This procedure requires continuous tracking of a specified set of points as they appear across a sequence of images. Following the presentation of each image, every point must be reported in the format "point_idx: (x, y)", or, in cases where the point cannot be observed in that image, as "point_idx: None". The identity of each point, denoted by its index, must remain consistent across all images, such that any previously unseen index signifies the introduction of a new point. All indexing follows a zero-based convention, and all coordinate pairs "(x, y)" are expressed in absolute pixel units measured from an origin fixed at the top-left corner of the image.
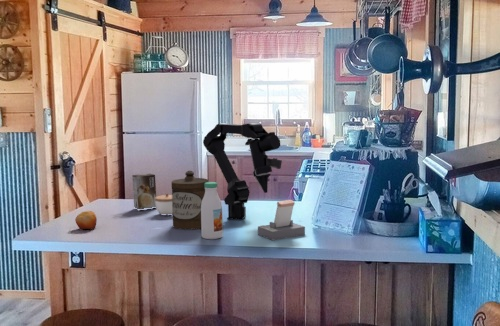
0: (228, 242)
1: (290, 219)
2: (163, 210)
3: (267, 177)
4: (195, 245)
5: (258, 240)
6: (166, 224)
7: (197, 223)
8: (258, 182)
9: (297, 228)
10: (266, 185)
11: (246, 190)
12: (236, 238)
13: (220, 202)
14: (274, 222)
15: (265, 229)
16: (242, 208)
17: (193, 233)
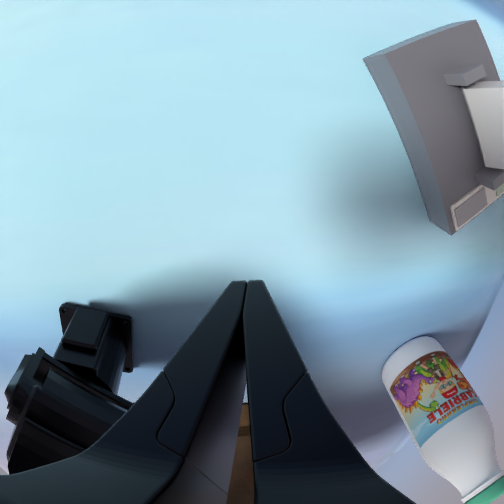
0: (474, 304)
1: (499, 82)
2: None
3: (383, 495)
4: (461, 366)
5: (489, 218)
6: None
7: None
8: (228, 476)
9: (491, 59)
10: (299, 362)
11: (51, 420)
12: (449, 291)
13: (486, 424)
14: (501, 167)
15: (492, 202)
16: (98, 350)
17: (351, 410)
